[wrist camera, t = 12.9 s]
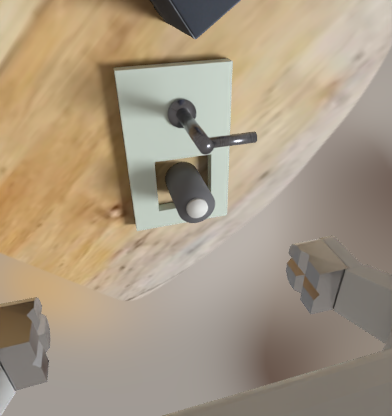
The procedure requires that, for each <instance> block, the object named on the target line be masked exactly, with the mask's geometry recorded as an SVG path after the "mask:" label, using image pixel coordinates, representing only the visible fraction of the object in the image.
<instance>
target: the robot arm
mask: <svg viewBox="0 0 392 416" xmlns="http://www.w3.org/2000/svg"><path fill="white" fill-rule="evenodd" d="M289 255H290V256H291V257H292V258H291V259H290V260H289V262H288V263H287V268H286V272H287V278H288V280H289V283H290V285H291V286H292V288H293V289H294V290H295V291H297V292H299V293H301V298H300V300H301V301H302V303H303V304H304V306H305V307H306V308H307V310H308V311H309V313H310V314H314V313H318V312H323V311H327V310H332V309H334V311H335V312H337V313H338V314H340V315H341V316H343V317H345V318H346V319H348V320H349V321H351V322H352V323H354V324H355V325H357V326H359V327H360V328H362V329H363V330H365V331H366V332H368V333H369V334H371V335H372V336H374V337H376V338H377V339H379V340H380V341H382V342H383V343H385V345H384V348H383V350H382V351H381V352H377V353H374V354H370V355H367V356H364V357H360V358H357V359H353V360H350V361H347V362H343V363H340V364H337V365H333V366H330V367H326V368H323V369H320V370H316V371H313V372H309V373H306V374H302V375H299V376H296V377H292V378H289V379H285V380H282V381H279V382H275V383H272V384H269V385H265V386H262V387H258V388H255V389H252V390H248V391H245V392H241V393H238V394H235V395H231V396H228V397H224V398H221V399H218V400H214V401H211V402H207V403H204V404H201V405H198V406H194V407H190V408H187V409H184V410H180V411H177V412H174V413H170V414H167V415H163V416H392V275H391V274H389V273H386V272H384V271H382V270H379V269H376V268H374V267H372V266H369V265H362V264H361V263H360V262H359V261H358V260H357V259H356V257H355V256H354V255H353V254H351V252H350V251H349V250H348V249H347V248H346V247H345V246H344V245H343V244H342V243H341V242H340V241H339V240H338V239H337V238H336V237H334V236H328V237H323V238H319V239H314V240H309V241H305V242H301V243H296V244H292V245H291V246H290V249H289ZM41 309H42V305H41V303H40V300H39V299H38V298H37V297H36V298H30V299H25V300H19V301H14V302H8V303H3V304H0V416H1V415H2V413H3V412H4V410H5V408H6V407H7V405H8V404H9V402H10V401H11V399H12V397H13V395H14V394H15V391H16V390H19V389H23V388H26V387H30V386H33V385H37V384H41V383H44V382H47V377H48V365H49V360H48V358H47V355H46V352H47V350H48V349H49V348H50V329H49V324H48V321H47V318H46V316H45V315H43V314H41Z"/></svg>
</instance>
